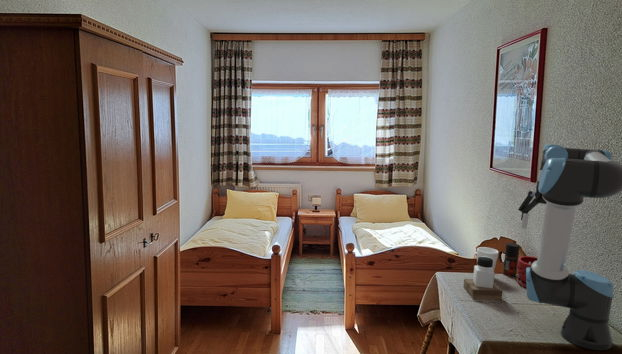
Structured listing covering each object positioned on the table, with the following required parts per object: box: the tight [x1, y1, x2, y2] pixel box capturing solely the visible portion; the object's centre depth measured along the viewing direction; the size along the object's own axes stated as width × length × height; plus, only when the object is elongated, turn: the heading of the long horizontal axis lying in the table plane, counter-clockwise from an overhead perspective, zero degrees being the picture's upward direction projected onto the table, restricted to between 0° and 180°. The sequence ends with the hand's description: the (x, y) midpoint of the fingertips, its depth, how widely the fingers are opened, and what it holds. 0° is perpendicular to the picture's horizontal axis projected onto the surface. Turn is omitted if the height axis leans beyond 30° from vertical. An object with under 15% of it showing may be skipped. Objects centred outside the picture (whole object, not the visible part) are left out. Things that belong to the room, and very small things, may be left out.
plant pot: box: [516, 255, 538, 289], centre depth 202 cm, size 13×13×12 cm
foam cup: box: [476, 246, 499, 272], centre depth 211 cm, size 10×9×13 cm
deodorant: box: [502, 242, 520, 278], centre depth 215 cm, size 6×6×15 cm
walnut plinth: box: [463, 278, 503, 301], centre depth 191 cm, size 12×12×4 cm
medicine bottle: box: [472, 256, 496, 288], centre depth 190 cm, size 7×7×12 cm
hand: (537, 231), depth 186 cm, fingers open, 13 cm apart
